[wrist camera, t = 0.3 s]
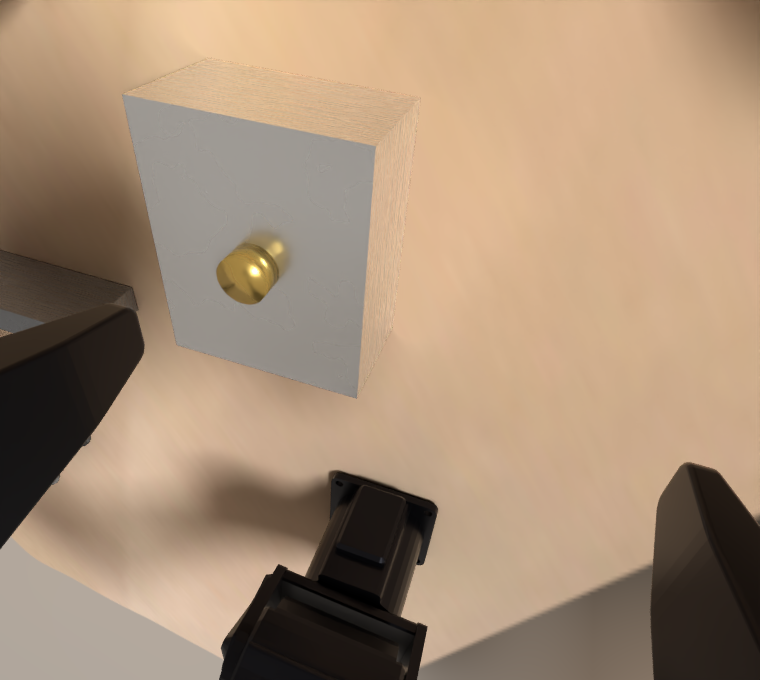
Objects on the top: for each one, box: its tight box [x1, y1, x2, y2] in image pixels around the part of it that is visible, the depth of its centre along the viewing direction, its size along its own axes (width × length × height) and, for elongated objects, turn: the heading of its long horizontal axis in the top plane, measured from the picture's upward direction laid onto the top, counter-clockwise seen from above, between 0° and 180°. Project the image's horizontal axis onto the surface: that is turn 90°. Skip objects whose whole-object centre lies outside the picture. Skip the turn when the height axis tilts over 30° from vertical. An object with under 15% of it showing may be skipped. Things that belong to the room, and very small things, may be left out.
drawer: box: [122, 58, 421, 399], centre depth 20 cm, size 10×9×6 cm
